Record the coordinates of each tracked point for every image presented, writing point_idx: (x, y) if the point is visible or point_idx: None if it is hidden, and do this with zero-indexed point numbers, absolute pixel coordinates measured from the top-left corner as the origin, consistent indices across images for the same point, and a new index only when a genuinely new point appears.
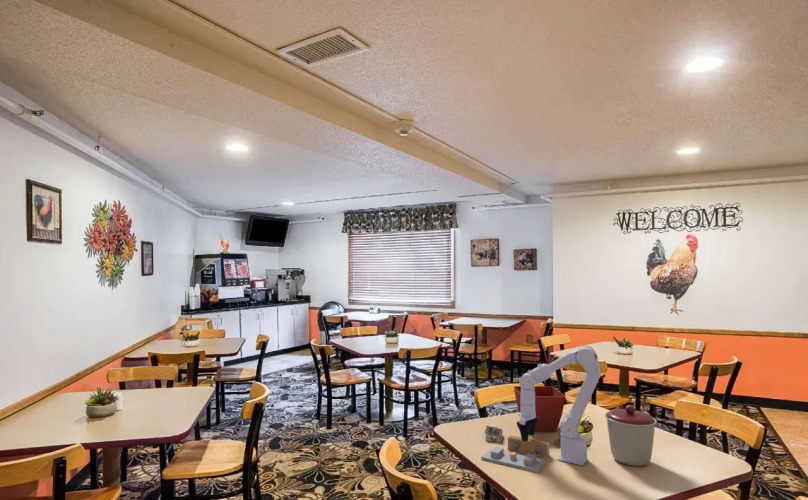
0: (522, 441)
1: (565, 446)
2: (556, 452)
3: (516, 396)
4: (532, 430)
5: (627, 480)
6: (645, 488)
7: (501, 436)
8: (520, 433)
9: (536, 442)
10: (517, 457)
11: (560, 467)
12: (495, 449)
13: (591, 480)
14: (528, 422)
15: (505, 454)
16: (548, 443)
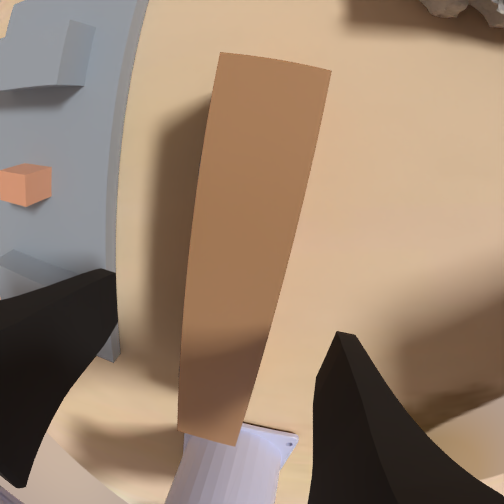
0: (193, 250)
1: (171, 489)
2: (310, 412)
3: None
4: (321, 421)
5: (152, 496)
6: (133, 499)
7: (450, 2)
8: (35, 290)
9: (194, 380)
10: (61, 201)
11: (117, 398)
12: (22, 46)
13: (90, 442)
14: (352, 486)
15: (68, 107)
16: (216, 441)
